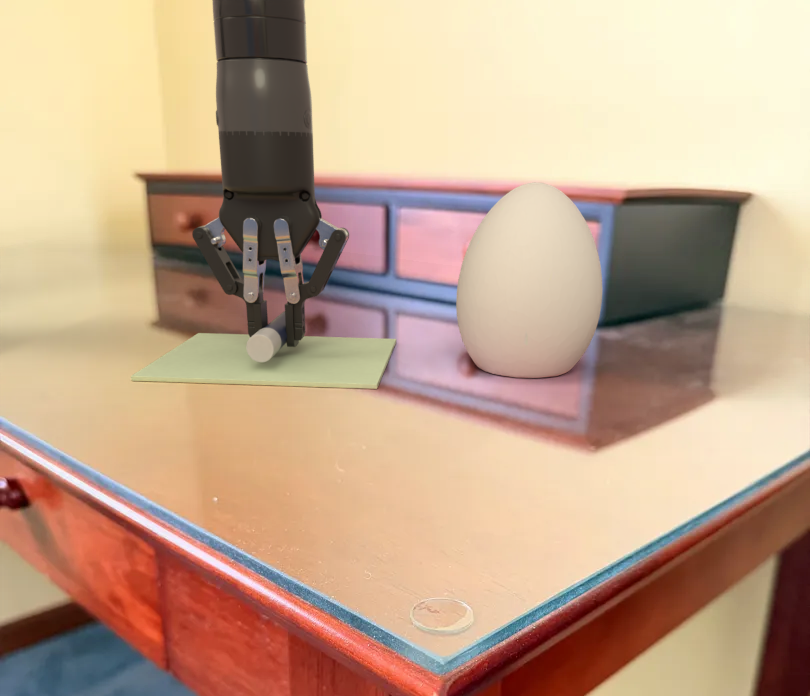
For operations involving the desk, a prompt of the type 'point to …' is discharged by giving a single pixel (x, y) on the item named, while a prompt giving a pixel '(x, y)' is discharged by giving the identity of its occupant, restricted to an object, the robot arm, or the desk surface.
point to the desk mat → (274, 362)
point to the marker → (268, 340)
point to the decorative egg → (530, 285)
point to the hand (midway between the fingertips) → (277, 344)
